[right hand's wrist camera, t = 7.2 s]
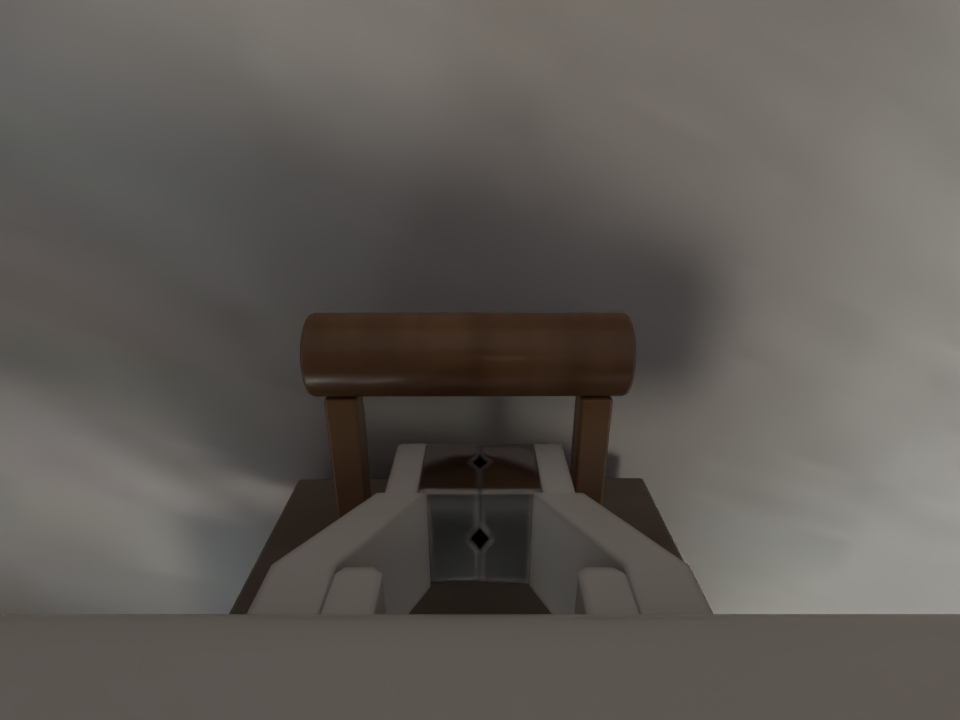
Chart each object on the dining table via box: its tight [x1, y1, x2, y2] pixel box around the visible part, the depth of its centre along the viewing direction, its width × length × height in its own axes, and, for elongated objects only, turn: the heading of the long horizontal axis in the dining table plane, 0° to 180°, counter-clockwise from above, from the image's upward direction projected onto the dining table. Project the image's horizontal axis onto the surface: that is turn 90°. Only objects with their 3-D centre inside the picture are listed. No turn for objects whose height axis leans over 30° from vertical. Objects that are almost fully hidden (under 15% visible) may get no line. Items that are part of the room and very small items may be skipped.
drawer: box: [229, 313, 684, 614], centre depth 13 cm, size 17×9×7 cm, turn 0°
